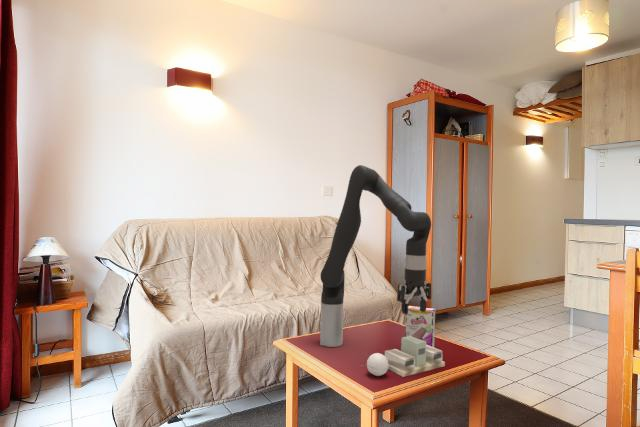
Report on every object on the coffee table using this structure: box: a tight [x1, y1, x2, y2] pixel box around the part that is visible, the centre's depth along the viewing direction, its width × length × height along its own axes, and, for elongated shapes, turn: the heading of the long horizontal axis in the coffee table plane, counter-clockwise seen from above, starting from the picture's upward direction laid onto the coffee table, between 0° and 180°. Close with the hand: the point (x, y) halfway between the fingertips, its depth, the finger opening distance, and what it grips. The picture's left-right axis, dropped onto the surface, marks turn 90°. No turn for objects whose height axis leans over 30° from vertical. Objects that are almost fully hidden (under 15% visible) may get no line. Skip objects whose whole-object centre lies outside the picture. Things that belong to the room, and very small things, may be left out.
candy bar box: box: [404, 305, 436, 348], centre depth 169 cm, size 11×5×16 cm, turn 65°
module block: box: [400, 336, 426, 367], centre depth 149 cm, size 4×8×8 cm, turn 31°
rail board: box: [384, 345, 446, 378], centre depth 149 cm, size 20×11×6 cm, turn 121°
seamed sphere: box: [360, 352, 389, 377], centre depth 141 cm, size 10×7×7 cm
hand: (414, 312), depth 149 cm, fingers open, 8 cm apart
